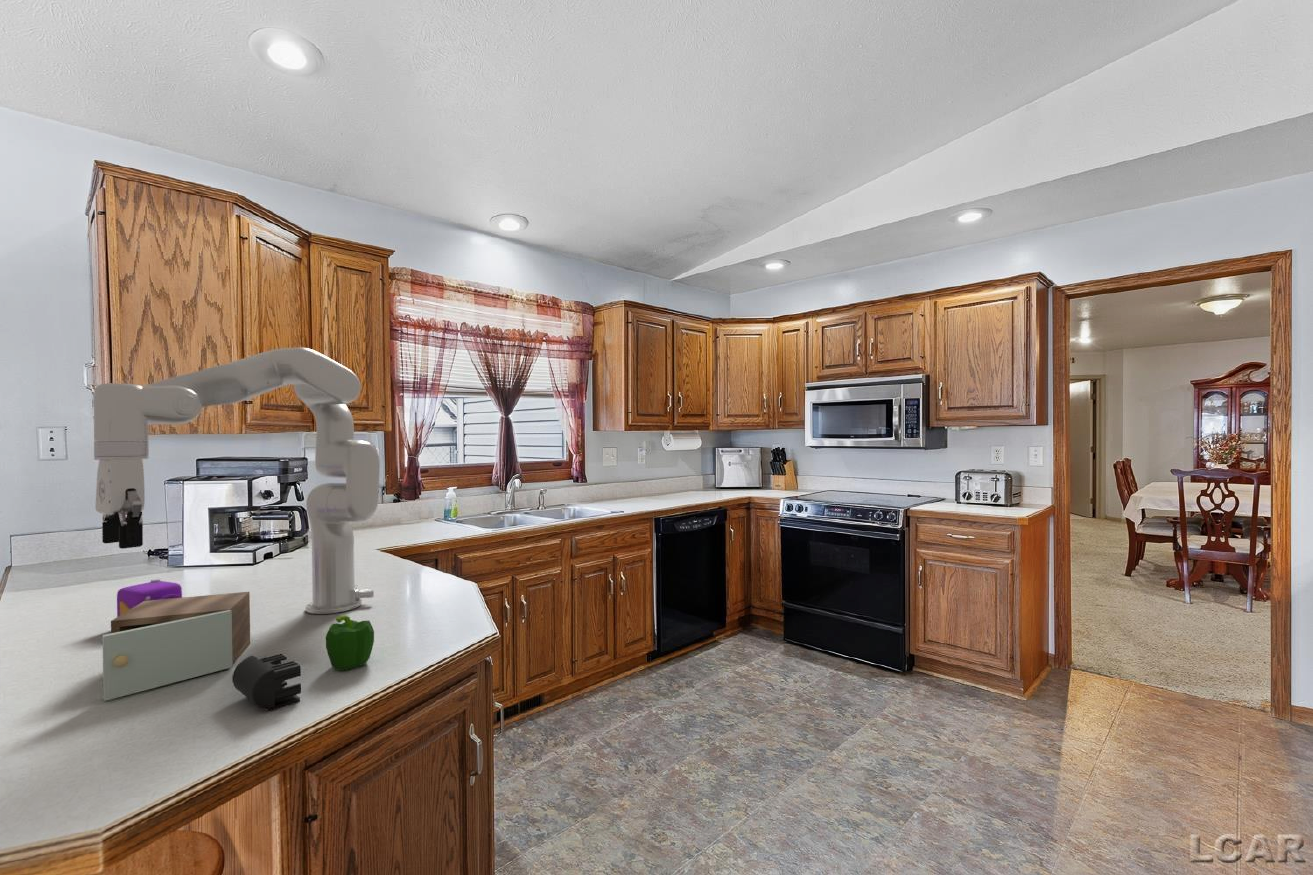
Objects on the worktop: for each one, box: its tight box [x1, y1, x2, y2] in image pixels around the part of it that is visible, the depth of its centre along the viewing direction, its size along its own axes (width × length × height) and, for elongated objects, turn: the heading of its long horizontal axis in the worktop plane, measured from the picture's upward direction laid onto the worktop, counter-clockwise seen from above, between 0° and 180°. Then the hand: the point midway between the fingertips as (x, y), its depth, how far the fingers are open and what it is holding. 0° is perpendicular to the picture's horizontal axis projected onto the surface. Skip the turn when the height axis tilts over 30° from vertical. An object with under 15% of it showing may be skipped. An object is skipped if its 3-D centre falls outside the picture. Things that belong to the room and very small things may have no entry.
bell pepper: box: [325, 615, 375, 671], centre depth 115 cm, size 8×8×10 cm
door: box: [101, 610, 234, 701], centre depth 107 cm, size 18×2×11 cm, turn 141°
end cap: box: [231, 653, 302, 712], centre depth 100 cm, size 10×7×7 cm
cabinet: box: [110, 591, 251, 665], centre depth 119 cm, size 18×14×11 cm
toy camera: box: [116, 578, 183, 618], centre depth 141 cm, size 11×14×10 cm
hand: (122, 544), depth 111 cm, fingers open, 9 cm apart
